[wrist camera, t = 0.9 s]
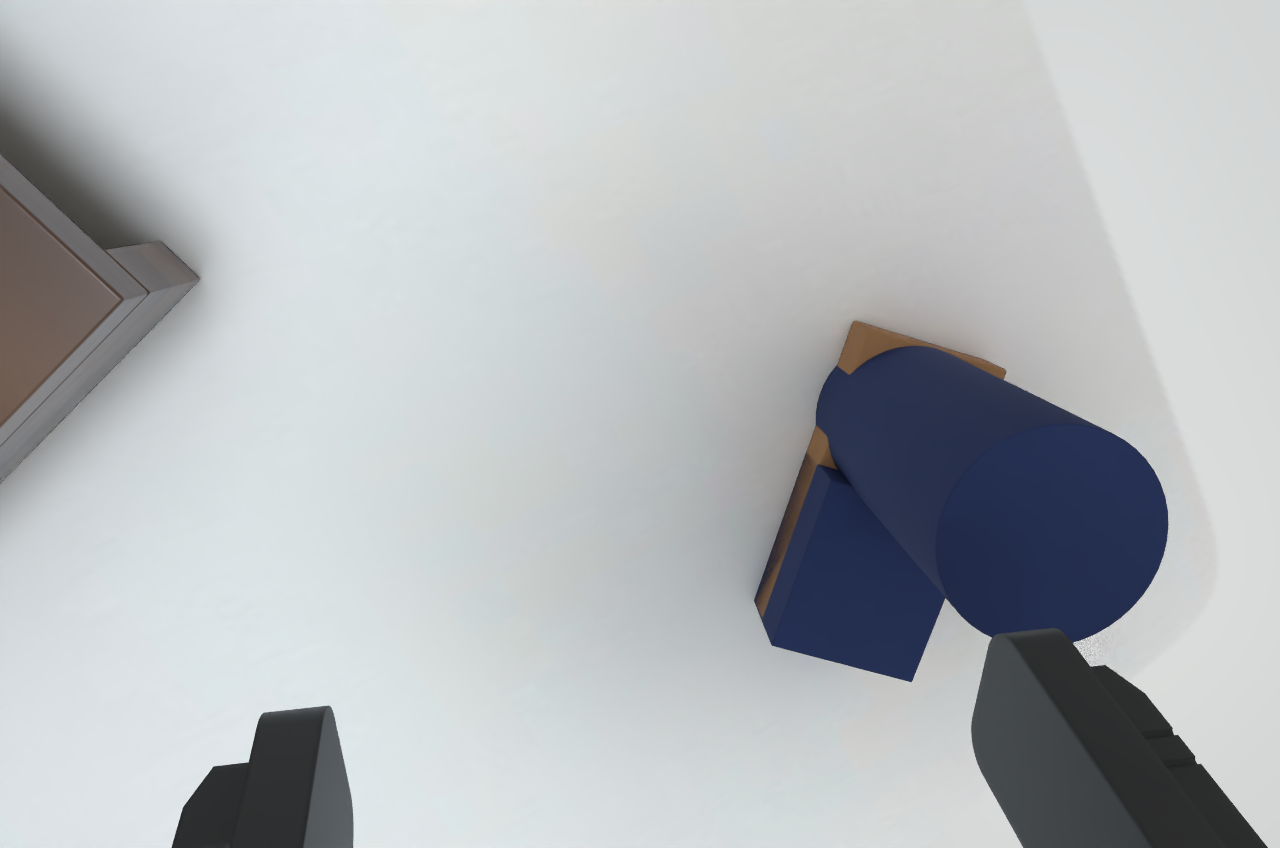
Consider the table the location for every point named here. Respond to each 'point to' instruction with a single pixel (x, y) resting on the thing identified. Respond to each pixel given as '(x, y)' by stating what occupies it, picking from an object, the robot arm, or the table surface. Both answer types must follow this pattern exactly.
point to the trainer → (952, 512)
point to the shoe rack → (66, 311)
